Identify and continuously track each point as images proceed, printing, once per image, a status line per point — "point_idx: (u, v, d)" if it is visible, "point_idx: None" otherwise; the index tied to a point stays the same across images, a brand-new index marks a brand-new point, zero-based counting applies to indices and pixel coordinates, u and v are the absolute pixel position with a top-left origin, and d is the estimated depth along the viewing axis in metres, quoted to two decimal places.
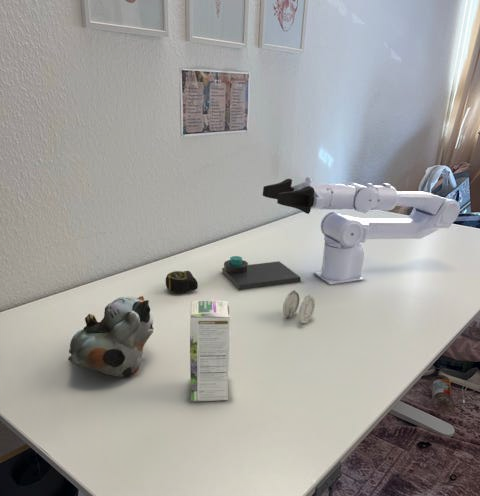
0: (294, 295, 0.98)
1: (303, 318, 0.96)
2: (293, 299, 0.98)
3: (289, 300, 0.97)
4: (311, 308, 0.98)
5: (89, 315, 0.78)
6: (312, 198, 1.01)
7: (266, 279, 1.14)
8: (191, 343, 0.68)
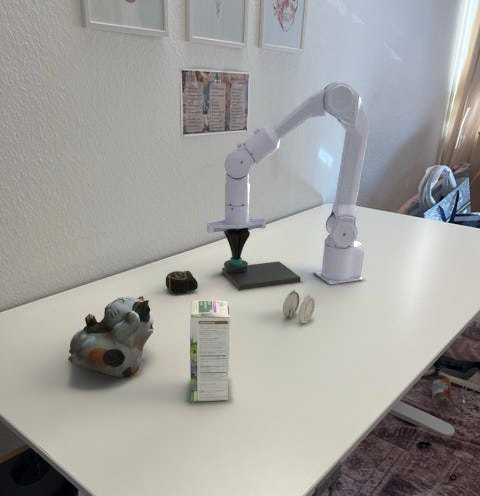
0: (294, 295, 0.98)
1: (303, 318, 0.96)
2: (293, 299, 0.98)
3: (289, 300, 0.97)
4: (311, 308, 0.98)
5: (89, 315, 0.78)
6: (225, 231, 1.15)
7: (266, 279, 1.14)
8: (191, 343, 0.68)
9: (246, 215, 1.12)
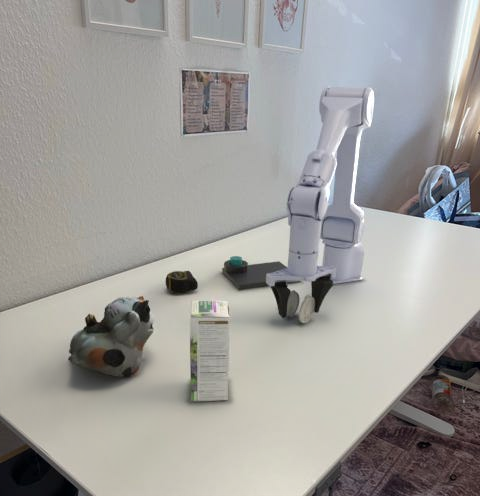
0: (294, 295, 0.98)
1: (303, 318, 0.96)
2: (293, 299, 0.98)
3: (289, 300, 0.97)
4: (311, 308, 0.98)
5: (89, 315, 0.78)
6: None
7: None
8: (191, 343, 0.68)
9: None
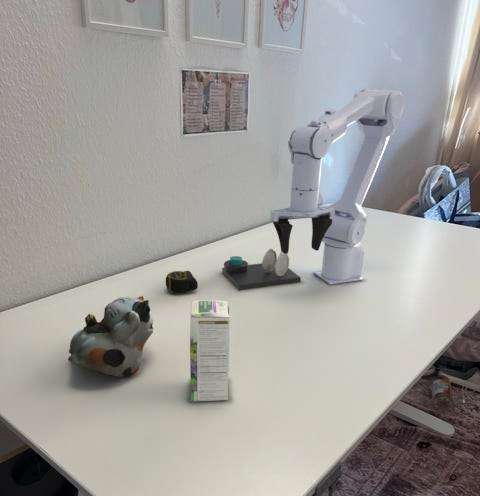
0: (272, 253, 1.18)
1: (279, 271, 1.15)
2: (271, 256, 1.18)
3: (267, 257, 1.17)
4: (286, 264, 1.17)
5: (89, 315, 0.78)
6: None
7: (266, 279, 1.14)
8: (191, 343, 0.68)
9: None
